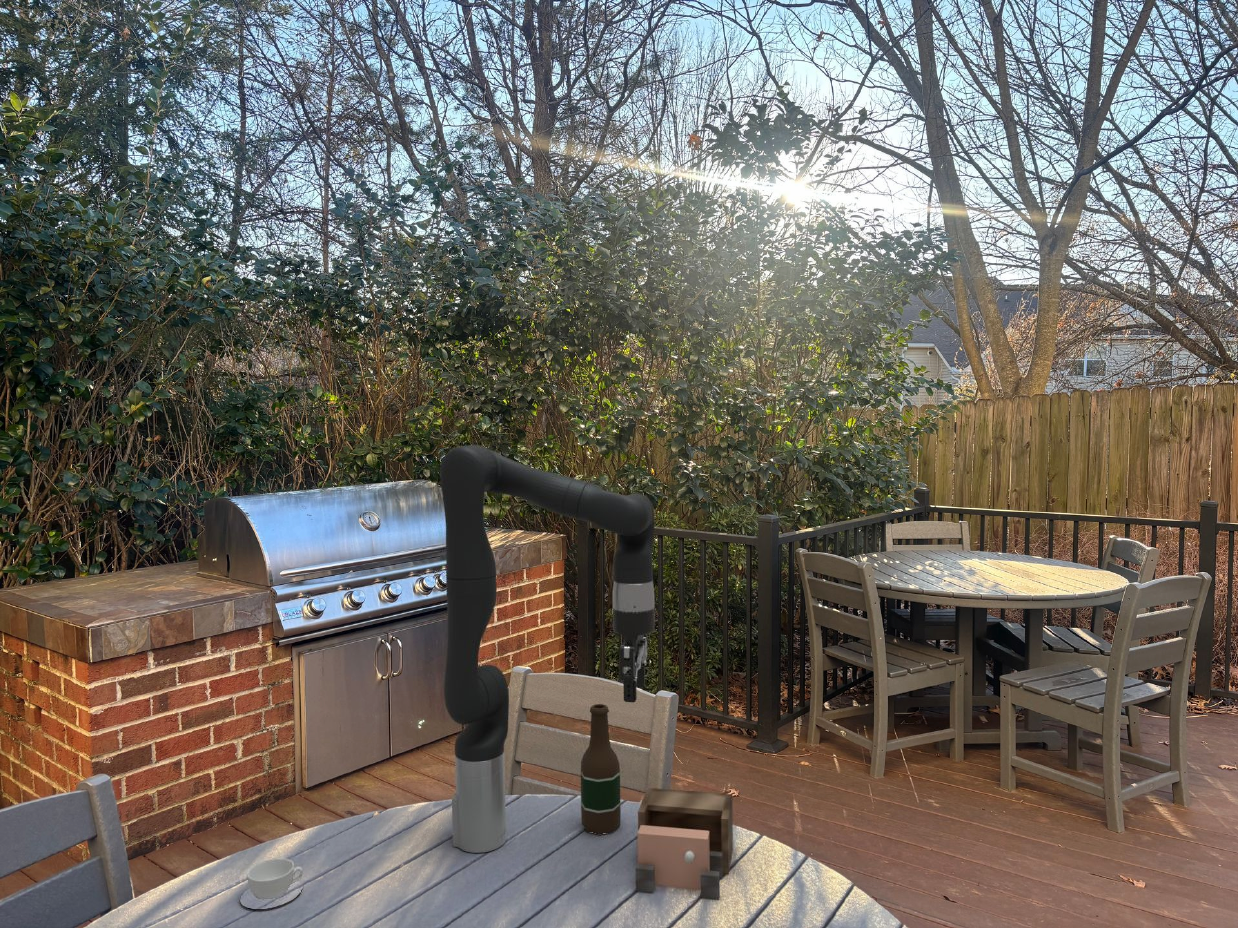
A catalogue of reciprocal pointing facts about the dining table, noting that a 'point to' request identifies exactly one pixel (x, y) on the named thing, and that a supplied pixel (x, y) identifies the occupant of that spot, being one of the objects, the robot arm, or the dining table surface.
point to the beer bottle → (600, 778)
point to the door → (675, 855)
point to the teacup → (272, 877)
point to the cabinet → (690, 814)
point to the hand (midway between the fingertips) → (634, 693)
